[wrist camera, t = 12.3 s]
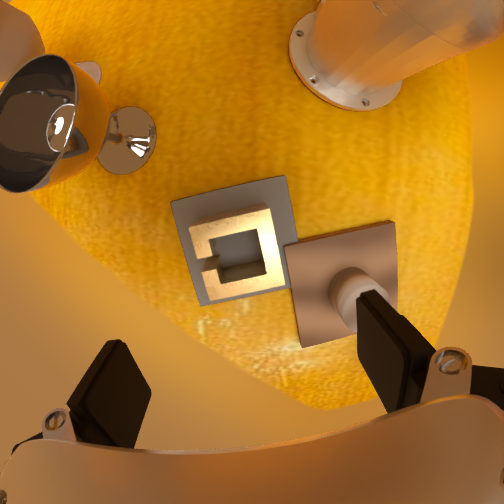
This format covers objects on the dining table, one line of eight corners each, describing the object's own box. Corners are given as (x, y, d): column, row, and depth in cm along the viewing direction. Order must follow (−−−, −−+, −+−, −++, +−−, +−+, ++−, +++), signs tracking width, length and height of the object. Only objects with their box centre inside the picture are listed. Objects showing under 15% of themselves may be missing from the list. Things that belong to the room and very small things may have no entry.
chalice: (52, 80, 21) (-57, 47, 3) (96, 43, 20) (-1, -24, 3) (70, 123, 22) (-59, 105, 5) (117, 83, 22) (1, 17, 4)
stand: (282, 243, 27) (301, 277, 19) (389, 220, 27) (440, 240, 18) (300, 342, 31) (317, 396, 22) (392, 315, 30) (429, 356, 22)
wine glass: (103, 99, 22) (7, 60, 8) (170, 108, 23) (98, 49, 9) (84, 171, 24) (-23, 182, 10) (148, 186, 25) (55, 206, 11)
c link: (196, 219, 26) (188, 227, 22) (265, 203, 25) (269, 208, 22) (214, 283, 27) (210, 300, 24) (279, 269, 27) (285, 284, 23)
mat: (171, 201, 26) (170, 202, 25) (284, 175, 25) (285, 175, 25) (201, 303, 29) (200, 306, 28) (304, 281, 28) (305, 283, 28)
